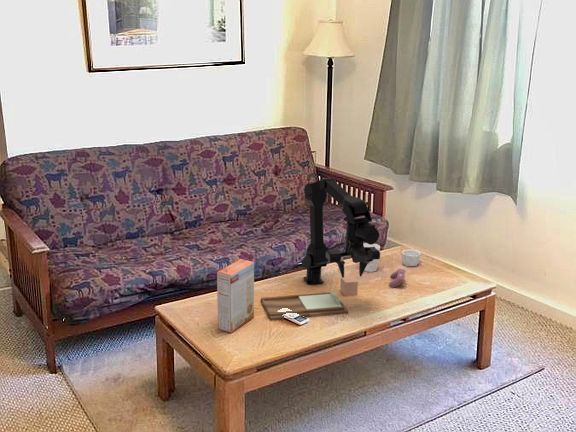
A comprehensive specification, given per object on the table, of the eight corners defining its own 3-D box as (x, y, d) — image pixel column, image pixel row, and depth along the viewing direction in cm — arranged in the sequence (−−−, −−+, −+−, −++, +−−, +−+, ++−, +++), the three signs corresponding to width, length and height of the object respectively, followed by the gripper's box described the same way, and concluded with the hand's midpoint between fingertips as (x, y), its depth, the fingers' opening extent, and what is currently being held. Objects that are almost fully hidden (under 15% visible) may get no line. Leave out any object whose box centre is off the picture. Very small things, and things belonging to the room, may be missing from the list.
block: (340, 290, 260) (340, 277, 258) (352, 289, 261) (353, 276, 260) (344, 296, 256) (345, 282, 254) (357, 295, 257) (357, 281, 255)
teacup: (409, 269, 282) (411, 257, 281) (396, 263, 288) (397, 251, 287) (427, 264, 288) (428, 252, 286) (413, 259, 294) (415, 247, 292)
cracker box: (240, 313, 239) (240, 257, 232) (254, 318, 236) (255, 261, 230) (216, 329, 227) (216, 270, 221) (231, 334, 224) (231, 275, 218)
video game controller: (398, 292, 264) (407, 278, 262) (387, 286, 264) (397, 272, 262) (399, 282, 273) (408, 268, 271) (389, 276, 273) (398, 262, 271)
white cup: (381, 268, 283) (383, 245, 280) (373, 274, 276) (375, 251, 273) (364, 264, 287) (366, 241, 284) (355, 269, 280) (357, 246, 277)
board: (260, 300, 249) (260, 296, 249) (334, 295, 256) (334, 290, 255) (270, 320, 235) (270, 315, 234) (348, 313, 241) (348, 309, 241)
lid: (298, 298, 250) (298, 292, 249) (332, 295, 253) (332, 289, 252) (306, 311, 240) (306, 305, 239) (341, 308, 243) (342, 302, 242)
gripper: (336, 245, 231) (333, 287, 235) (387, 241, 235) (384, 283, 240) (326, 234, 241) (324, 275, 246) (375, 231, 245) (372, 271, 250)
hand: (351, 276), depth 245 cm, fingers open, 6 cm apart
